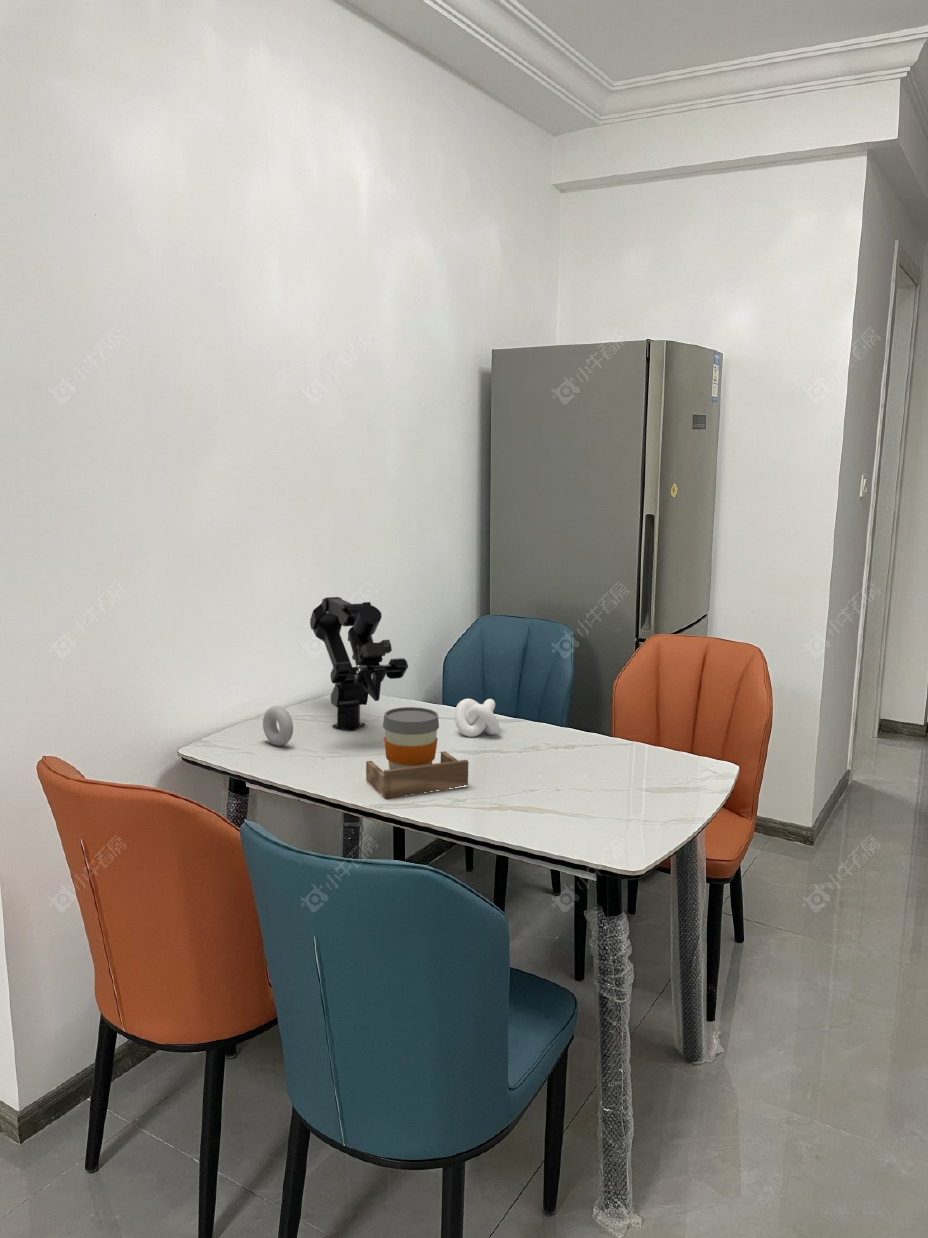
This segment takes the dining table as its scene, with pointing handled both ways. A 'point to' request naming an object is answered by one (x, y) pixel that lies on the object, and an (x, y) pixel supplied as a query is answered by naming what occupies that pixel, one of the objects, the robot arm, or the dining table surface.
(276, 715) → the donut
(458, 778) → the holder
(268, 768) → the dining table surface
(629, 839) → the dining table surface
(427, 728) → the reusable coffee cup
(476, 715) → the white knot
